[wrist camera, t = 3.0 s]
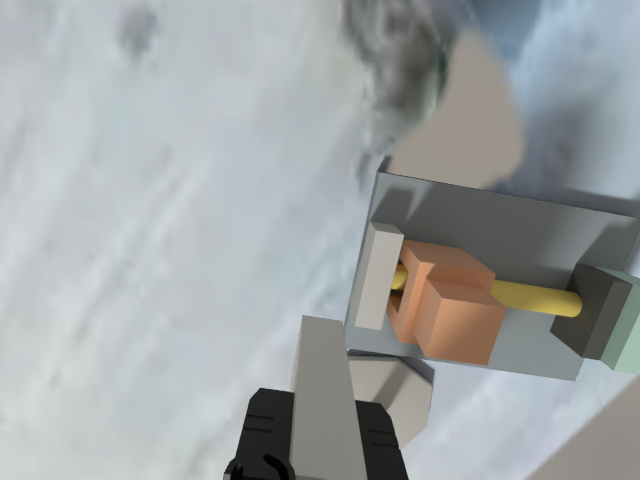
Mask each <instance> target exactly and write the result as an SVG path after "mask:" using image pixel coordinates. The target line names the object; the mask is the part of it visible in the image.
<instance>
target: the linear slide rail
mask: <svg viewBox="0 0 640 480" xmlns="http://www.w3.org/2000/svg"><path fill="white" fill-rule="evenodd" d="M639 230H640V218H636V217H631V216H626V215H620V214H615V213H609V212H604V211H598V210H592V209H587V208H581V207H576V206H570V205H564V204H559V203H553V202H548V201H542V200H536V199H531V198H525V197H520V196H514V195H508V194H503V193H497V192H491V191H486V190H480V189H475V188H469V187H463V186H458V185H452V184H447V183H441V182H435V181H430V180H424V179H418V178H413V177H407V176H402V175H396V174H391V173H385V172H379V171H377V174H376V178H375V183H374V188H373V192H372V197H371V202H370V206H369V211H368V216H367V220H366V225H365V230H364V234H363V239H362V244H361V248H360V253H359V258H358V262H357V267H356V272H355V276H354V281H353V285H352V290H351V295H350V299H349V304H348V309H347V313H346V318H345V323H344V327H343V329H344V335H345V342H346V348H349V349H356V350H363V351H370V352H376V353H383V354H390V355H397V356H404V357H411V358H418V359H425V360H432V361H439V362H446V363H453V364H459V365H466V366H473V367H480V368H487V369H494V370H501V371H508V372H515V373H522V374H529V375H536V376H542V377H549V378H556V379H563V380H570V381H575V380H576V377H577V375H578V373H579V370H580V368H581V366H582V363H583V361H584V359H585V358H589V359H595V360H600V361H602V362H603V363H604V364H606V365H607V366H608V367H610V368H611V369H612V370H613V371H620V372H627V373H634V374H640V279H639V278H637V277H634V276H632V275H630V274H627V273H625V272H623V271H622V270H623V267H624V265H625V263H626V260H627V258H628V256H629V253H630V251H631V249H632V246H633V244H634V242H635V239H636V237H637V235H638V232H639ZM403 239H407V240H413V241H419V242H425V243H431V244H437V245H443V246H449V247H455V248H461V249H463V250H464V251H465V252H467V253H468V254H470V255H471V256H472V257H474V258H475V259H476V260H478V261H479V262H481V263H482V264H483V265H485V266H486V267H487V268H489V269H490V270H492V271H493V272H494V273H496V276H495V279H494V283H493V286H492V289H491V292H490V294H491V295H492V296H493V297H495V298H496V299H497V300H498V301H499V302H500V303H502V304H503V305H504V306H505V307H506V308H507V310H506V312H505V315H504V318H503V321H502V324H501V327H500V330H499V333H498V336H497V338H496V341H495V344H494V347H493V350H492V353H491V356H490V359H489V362H488V364H487V366H485V365H478V364H472V363H465V362H458V361H451V360H444V359H437V358H430V357H425V355H424V353H423V351H422V350H421V348H420V346H419V345H416V344H409V343H402V342H399V341H398V339H397V337H396V334H395V332H394V330H393V327H392V325H391V323H390V320H389V318H388V316H387V313H386V307H387V303H388V299H389V294H390V292H395V293H401V294H403V293H404V289H405V285H406V281H407V277H408V273H409V271H408V270H407V268H406V267H405V265H404V264H403V263H402V261H401V260H400V259H399V254H400V250H401V246H402V242H403Z"/></svg>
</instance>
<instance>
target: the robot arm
mask: <svg viewBox="0 0 640 480" xmlns="http://www.w3.org/2000/svg"><path fill="white" fill-rule="evenodd" d="M223 480H409V479H408V475H407V472H406V468H405V465H404V461H403V458H402V454H401V451H400V449H399V444H398V440H397V437H396V436H395V429H394V426H393V422H392V419H391V417H390V415H389V414H388V413H387V411H386V410H385V409H384V407H383V406H382V405H381V403H375V402H367V401H360V400H355V398H354V392H353V386H352V379H351V373H350V367H349V360H348V354H347V348H346V342H345V335H344V329H343V323H342V321H338V320H332V319H325V318H318V317H312V316H305V315H302V320H301V326H300V332H299V337H298V343H297V348H296V354H295V360H294V365H293V371H292V377H291V385H290V392H287V391H279V390H272V389H265V388H260V389H259V390H258V391H257V392H256V393H255V394H254V395H253V396H252V398H251V399H250V401H249V405H248V409H247V413H246V417H245V421H244V424H243V429H242V432H241V436H240V440H239V444H238V448H237V452H236V456H235V458H234V459H233V460H231V461H230V463H229V465H228V466H227V468H226V470H225V472H224V476H223Z"/></svg>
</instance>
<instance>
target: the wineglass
mask: <svg viewBox="0 0 640 480" xmlns="http://www.w3.org/2000/svg"><path fill="white" fill-rule="evenodd" d="M348 360H349V367H350V373H351V379H352V386H353V392H354V398H355V400H360V401H367V402H375V403H381V405H382V406H383V407H384V409H385V410H386V411H387V413H388V414H389V415H390V417H391V419H392V422H393V426H394V429H395V436H396V437H397V440H398V444H399V449H400V450H401V449H402V448H404V447H405V446H406V445H407V444H408V443H409V442H410V441H411V440H412V439H413V438H414V437H416V436H417V435H418V434H419V433H420V432H421V431H422V430H423V429H424V428H425V427H426V426H427V420H428V413H429V406H430V400H431V393H432V384H431V383H430V382H429V381H428V380H426V379H425V378H424V377H422V376H421V375H420V374H418V373H417V372H416V371H414V370H413V369H412V368H410V367H409V366H408V365H406V364H405V363H404V362H402V361H401V360H400V359H398V358H397V357H390V356H348Z"/></svg>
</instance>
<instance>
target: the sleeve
mask: <svg viewBox="0 0 640 480" xmlns="http://www.w3.org/2000/svg"><path fill="white" fill-rule="evenodd" d="M399 259H400V260H401V261H402V263H403V264H404V265H405V267H406V268H407V270H408V271H409V273H408V277H407V281H406V285H405V289H404V293H403V294H401V293H395V292H390V294H389V299H388V303H387V307H386V313H387V316H388V318H389V320H390V323H391V325H392V327H393V330H394V332H395V334H396V337H397V339H398V341H399V342H402V343H409V344H416V345H419V346H420V348H421V350H422V351H423V353H424V355H425V357H430V358H437V359H444V360H451V361H458V362H465V363H472V364H478V365H485V366H487V364H488V362H489V359H490V356H491V353H492V350H493V347H494V344H495V341H496V338H497V336H498V333H499V330H500V327H501V324H502V321H503V318H504V315H505V312H506V310H507V308H506V307H505V306H504V305H503V304H502V303H500V302H499V301H498V300H497V299H496V298H495V297H493V296H492V295H491V294H490V292H491V289H492V286H493V283H494V279H495V276H496V273H494V272H493V271H492V270H490V269H489V268H487V267H486V266H485V265H483V264H482V263H481V262H479V261H478V260H476V259H475V258H474V257H472V256H471V255H470V254H468V253H467V252H465V251H464V250H463V249H461V248H455V247H449V246H443V245H437V244H431V243H425V242H419V241H413V240H407V239H403V242H402V246H401V250H400V254H399Z"/></svg>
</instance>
